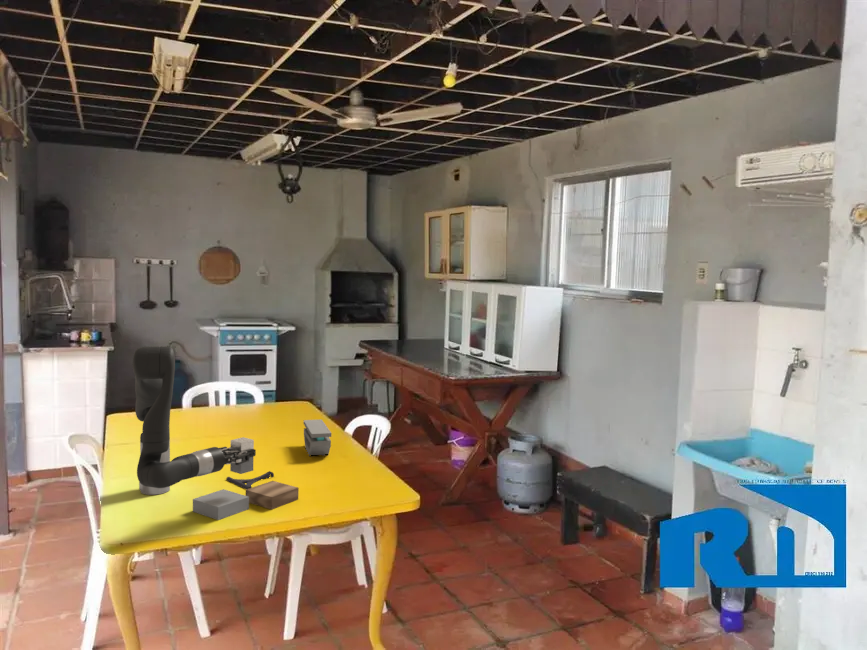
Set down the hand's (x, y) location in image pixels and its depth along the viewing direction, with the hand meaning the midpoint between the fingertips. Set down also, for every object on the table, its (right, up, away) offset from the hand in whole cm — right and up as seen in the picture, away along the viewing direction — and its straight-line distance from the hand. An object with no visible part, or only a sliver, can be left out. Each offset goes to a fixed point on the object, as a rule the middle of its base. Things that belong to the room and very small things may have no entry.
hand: (248, 450), depth 219 cm
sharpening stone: (+11, -13, +66) cm, 68 cm away
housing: (-2, -6, -2) cm, 7 cm away
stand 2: (+6, -18, +6) cm, 19 cm away
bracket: (-5, -16, +26) cm, 31 cm away
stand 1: (-7, -18, -4) cm, 20 cm away
